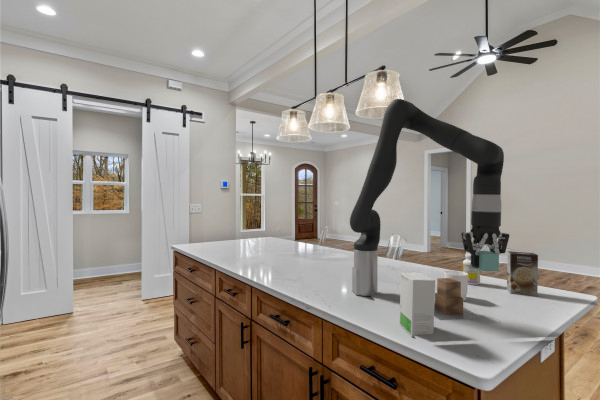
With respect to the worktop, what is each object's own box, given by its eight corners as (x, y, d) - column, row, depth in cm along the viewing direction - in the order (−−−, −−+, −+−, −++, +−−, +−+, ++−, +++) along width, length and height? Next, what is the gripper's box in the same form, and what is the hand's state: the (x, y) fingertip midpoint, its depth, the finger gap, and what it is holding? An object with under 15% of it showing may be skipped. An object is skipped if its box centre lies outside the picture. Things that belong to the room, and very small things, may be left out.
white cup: (465, 297, 114) (465, 271, 115) (470, 304, 107) (470, 276, 107) (443, 295, 117) (443, 269, 117) (445, 301, 110) (445, 274, 110)
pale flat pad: (440, 322, 90) (440, 320, 90) (417, 306, 104) (417, 304, 104) (484, 321, 92) (484, 318, 92) (455, 305, 106) (455, 303, 106)
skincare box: (399, 325, 88) (399, 272, 88) (420, 324, 89) (420, 271, 89) (412, 338, 80) (412, 279, 80) (435, 337, 80) (436, 278, 81)
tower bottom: (445, 314, 95) (445, 298, 95) (434, 307, 101) (434, 292, 101) (463, 314, 95) (463, 298, 95) (451, 307, 101) (451, 292, 101)
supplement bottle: (469, 280, 140) (469, 253, 140) (483, 284, 134) (483, 255, 134) (459, 282, 137) (459, 254, 137) (473, 286, 131) (473, 256, 131)
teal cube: (482, 271, 87) (482, 253, 87) (470, 267, 92) (471, 250, 92) (498, 271, 87) (499, 253, 87) (486, 266, 92) (486, 250, 92)
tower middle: (445, 298, 95) (445, 282, 95) (437, 293, 100) (437, 278, 100) (460, 297, 96) (460, 281, 96) (451, 293, 101) (451, 278, 101)
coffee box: (509, 293, 120) (509, 253, 120) (506, 289, 126) (506, 250, 126) (538, 296, 116) (538, 254, 117) (533, 292, 122) (533, 252, 122)
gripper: (471, 210, 85) (470, 270, 85) (518, 211, 86) (516, 270, 86) (455, 209, 92) (453, 264, 92) (498, 210, 94) (497, 264, 94)
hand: (484, 267), depth 89 cm, fingers closed on teal cube, 5 cm apart
